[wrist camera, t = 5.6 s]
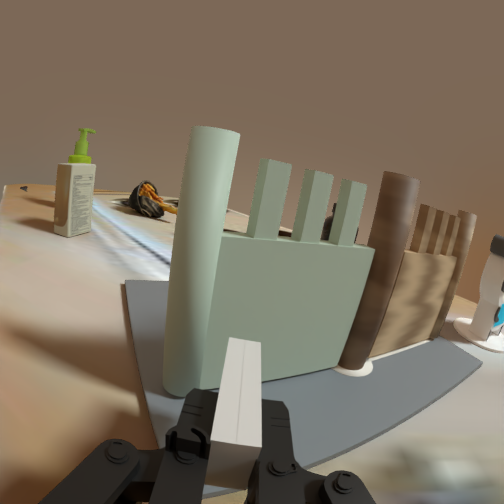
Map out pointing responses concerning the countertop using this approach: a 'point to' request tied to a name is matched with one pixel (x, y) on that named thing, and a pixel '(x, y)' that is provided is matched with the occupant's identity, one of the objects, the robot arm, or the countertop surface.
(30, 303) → the countertop surface
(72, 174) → the skincare box
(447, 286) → the fence fixed
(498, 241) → the panda figurine
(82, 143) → the soap dispenser
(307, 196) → the fence panel
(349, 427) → the card
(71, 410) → the countertop surface
